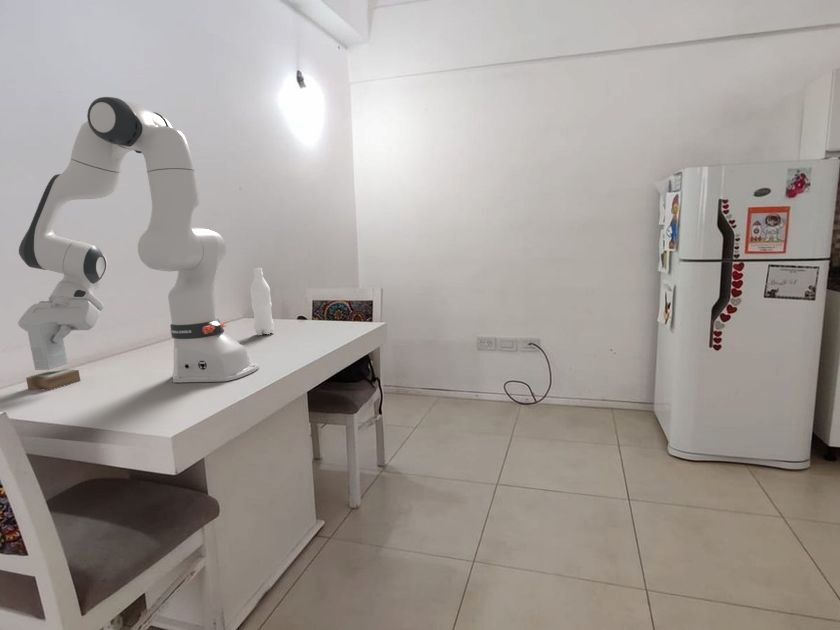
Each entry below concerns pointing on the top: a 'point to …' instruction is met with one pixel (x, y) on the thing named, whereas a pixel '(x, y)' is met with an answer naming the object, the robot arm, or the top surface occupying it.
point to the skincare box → (46, 345)
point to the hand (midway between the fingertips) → (44, 342)
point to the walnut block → (53, 379)
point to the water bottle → (261, 304)
